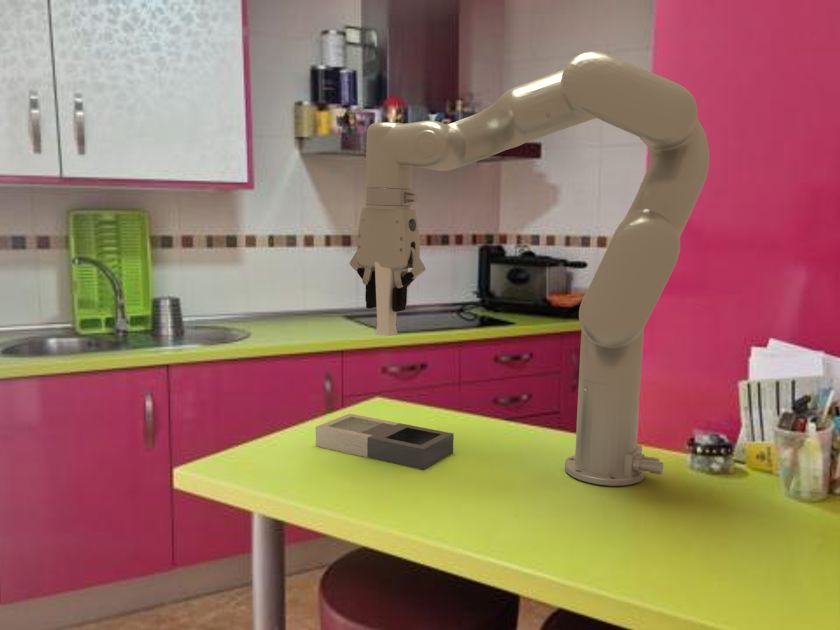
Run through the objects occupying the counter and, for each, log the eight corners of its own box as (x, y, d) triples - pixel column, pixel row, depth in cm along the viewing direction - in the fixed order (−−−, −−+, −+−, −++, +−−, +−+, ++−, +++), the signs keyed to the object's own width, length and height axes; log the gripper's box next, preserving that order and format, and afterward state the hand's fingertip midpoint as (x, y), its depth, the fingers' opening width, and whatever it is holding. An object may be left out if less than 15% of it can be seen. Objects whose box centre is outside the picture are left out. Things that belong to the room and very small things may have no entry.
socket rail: (453, 453, 133) (453, 433, 132) (423, 470, 124) (423, 449, 124) (349, 431, 144) (349, 413, 143) (315, 446, 135) (315, 426, 135)
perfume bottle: (384, 330, 134) (386, 243, 131) (403, 333, 131) (405, 245, 129) (366, 333, 130) (367, 244, 128) (385, 337, 128) (387, 246, 125)
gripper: (444, 201, 126) (440, 311, 129) (359, 198, 135) (357, 302, 137) (420, 201, 120) (417, 317, 123) (333, 198, 128) (331, 306, 131)
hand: (385, 308), depth 130 cm, fingers closed on perfume bottle, 4 cm apart
